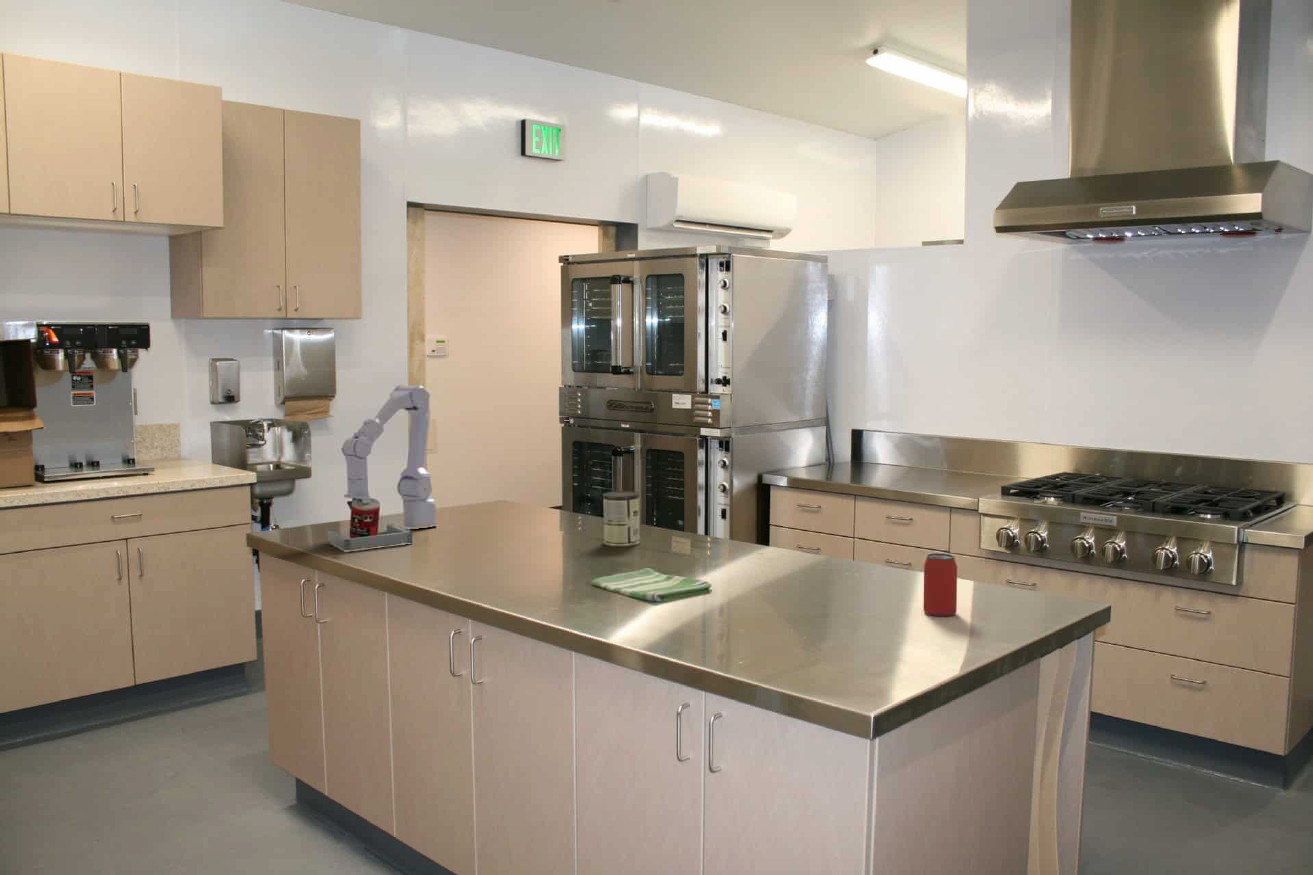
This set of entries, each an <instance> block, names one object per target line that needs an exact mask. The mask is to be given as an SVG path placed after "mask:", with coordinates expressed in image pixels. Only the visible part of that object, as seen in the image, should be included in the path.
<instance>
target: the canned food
mask: <svg viewBox="0 0 1313 875" xmlns="http://www.w3.org/2000/svg"><path fill="white" fill-rule="evenodd" d="M352 500H353V499H352ZM352 500H351V501H352ZM380 507H381V502H380V501H379V500H377V499H375V498H371V497H370V503H364V504H363V503H362V499H355V500H353V501H352V505H351V509H350V520H349V522H350V523H349V539H350V538H358V537H367V536H375V535H379V534H378V532H379V520H380V509H381V508H380Z"/></svg>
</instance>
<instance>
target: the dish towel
mask: <svg viewBox="0 0 1313 875" xmlns="http://www.w3.org/2000/svg"><path fill="white" fill-rule="evenodd" d="M590 585H592V586H595V587H597V588H601V589H604V590H607V591H610V592H613V593H617V594H621V595H624V596H627V597H631V598H635V599H637V600H638V599H639V600H643V601H644V600H645V601H651V602H656V603H660V602H661V603H663V602H667V601H668V602H669V601H672V600H676V599H682V598H687V597H691V595H692V596H696V594H697V595H701V594H700V593H702V594H706V593H710V591H711V592H713V589H710V588H712V584H711V583H710V582H708V581H707V580H703V579H697V578H691V577H687V576H685V577H684V576H678V575H673V574H666V575H665V574H663V573H660V572H657V571H656V570H654V569H652V568H649V567H645V568H641V569H640V570H635V571H629V572H622V573H618V574H612V575H607V576H602V577H601V576H600V577H598V578H594V579H593V580H592V581H591V582H590Z"/></svg>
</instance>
